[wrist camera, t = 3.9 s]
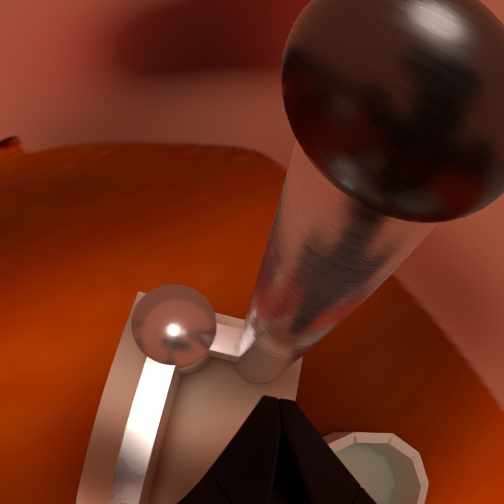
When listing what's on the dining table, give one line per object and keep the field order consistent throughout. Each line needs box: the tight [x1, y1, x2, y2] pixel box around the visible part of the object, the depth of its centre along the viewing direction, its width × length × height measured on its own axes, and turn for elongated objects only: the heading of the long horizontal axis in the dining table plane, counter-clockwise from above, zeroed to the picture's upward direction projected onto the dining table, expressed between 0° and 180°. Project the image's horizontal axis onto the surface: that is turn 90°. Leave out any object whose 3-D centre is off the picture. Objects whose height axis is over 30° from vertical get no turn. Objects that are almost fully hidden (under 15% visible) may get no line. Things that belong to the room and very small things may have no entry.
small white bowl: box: [322, 432, 429, 504], centre depth 12 cm, size 9×9×4 cm
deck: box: [76, 292, 303, 504], centre depth 12 cm, size 18×9×4 cm, turn 168°
